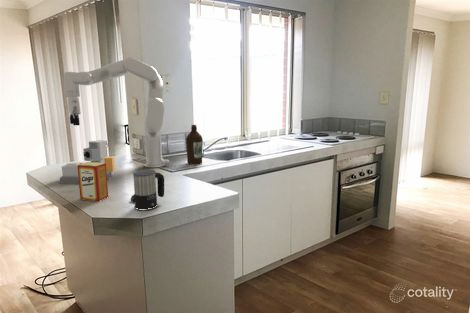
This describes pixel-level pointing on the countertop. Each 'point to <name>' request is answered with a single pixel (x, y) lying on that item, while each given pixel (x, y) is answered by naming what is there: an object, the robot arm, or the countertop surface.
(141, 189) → the milk frother
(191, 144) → the olive oil
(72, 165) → the white cube insert
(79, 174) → the baking soda box
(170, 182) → the countertop surface
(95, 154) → the circuit breaker
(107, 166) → the lockout block
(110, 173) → the breaker panel
